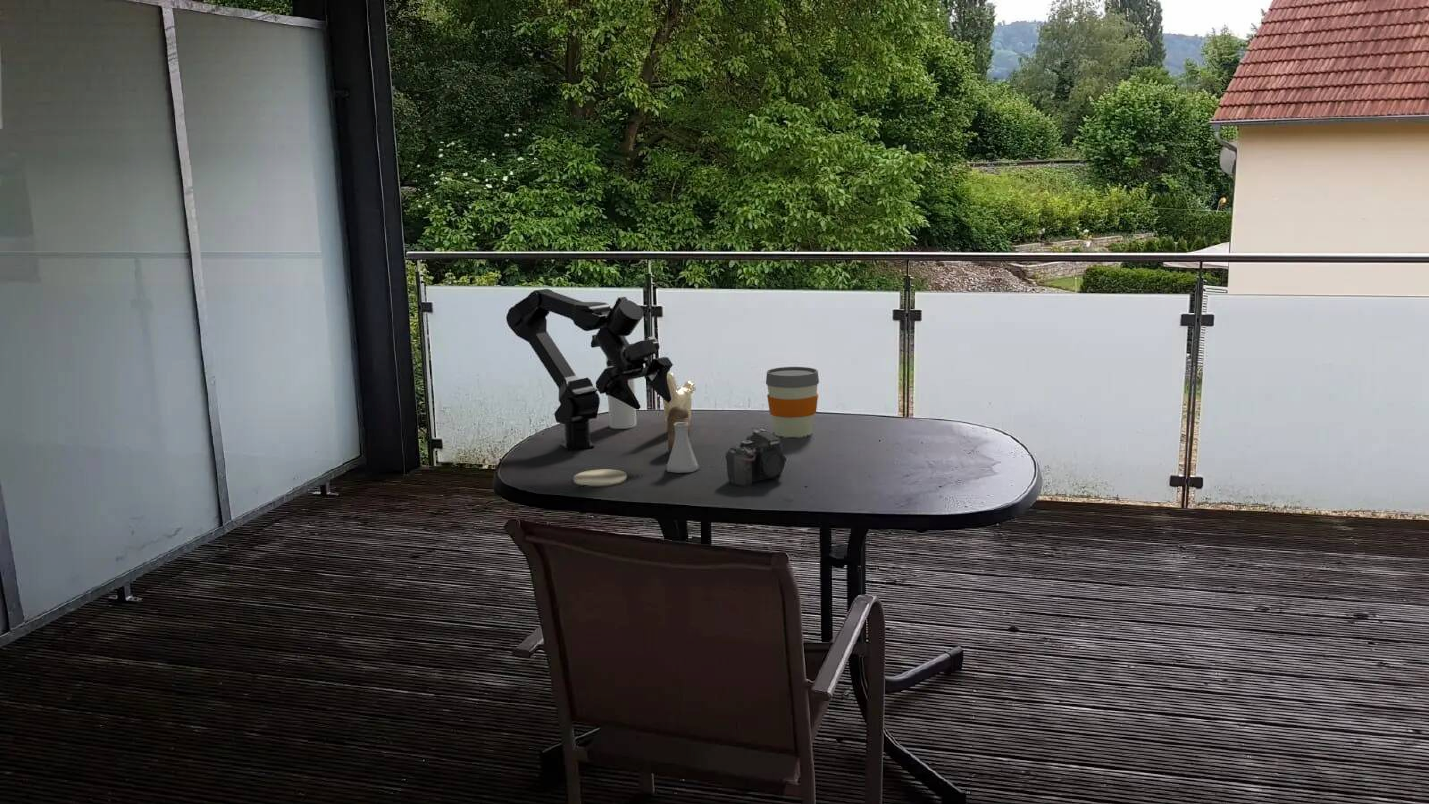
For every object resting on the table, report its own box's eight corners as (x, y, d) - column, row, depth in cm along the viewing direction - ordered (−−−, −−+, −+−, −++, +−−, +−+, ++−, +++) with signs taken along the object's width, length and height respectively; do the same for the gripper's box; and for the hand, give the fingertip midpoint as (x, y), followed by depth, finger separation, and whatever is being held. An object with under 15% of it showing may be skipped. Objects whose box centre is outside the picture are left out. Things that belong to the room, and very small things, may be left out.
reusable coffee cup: (828, 430, 274) (828, 368, 271) (804, 441, 264) (803, 377, 261) (783, 425, 281) (781, 365, 278) (757, 436, 271) (755, 373, 268)
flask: (695, 474, 239) (694, 427, 237) (662, 473, 241) (660, 427, 238) (703, 465, 246) (701, 420, 244) (670, 464, 247) (668, 419, 245)
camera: (763, 490, 226) (762, 441, 224) (721, 483, 232) (720, 435, 230) (796, 474, 237) (795, 427, 235) (755, 468, 243) (754, 422, 240)
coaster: (568, 475, 241) (568, 472, 241) (619, 469, 244) (619, 467, 244) (580, 488, 231) (580, 486, 231) (632, 482, 234) (632, 479, 234)
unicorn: (688, 421, 289) (685, 354, 285) (702, 422, 287) (700, 354, 283) (652, 439, 271) (649, 368, 267) (667, 440, 269) (664, 368, 266)
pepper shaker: (665, 450, 260) (663, 405, 258) (686, 447, 262) (685, 403, 259) (672, 455, 255) (670, 409, 253) (693, 452, 257) (691, 407, 255)
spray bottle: (635, 428, 282) (630, 328, 277) (608, 429, 282) (603, 328, 277) (637, 422, 289) (633, 324, 284) (610, 423, 289) (606, 325, 284)
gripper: (601, 331, 239) (640, 388, 234) (665, 320, 253) (703, 374, 247) (579, 364, 246) (616, 421, 241) (641, 352, 259) (678, 406, 254)
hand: (654, 404), depth 246 cm, fingers open, 9 cm apart
